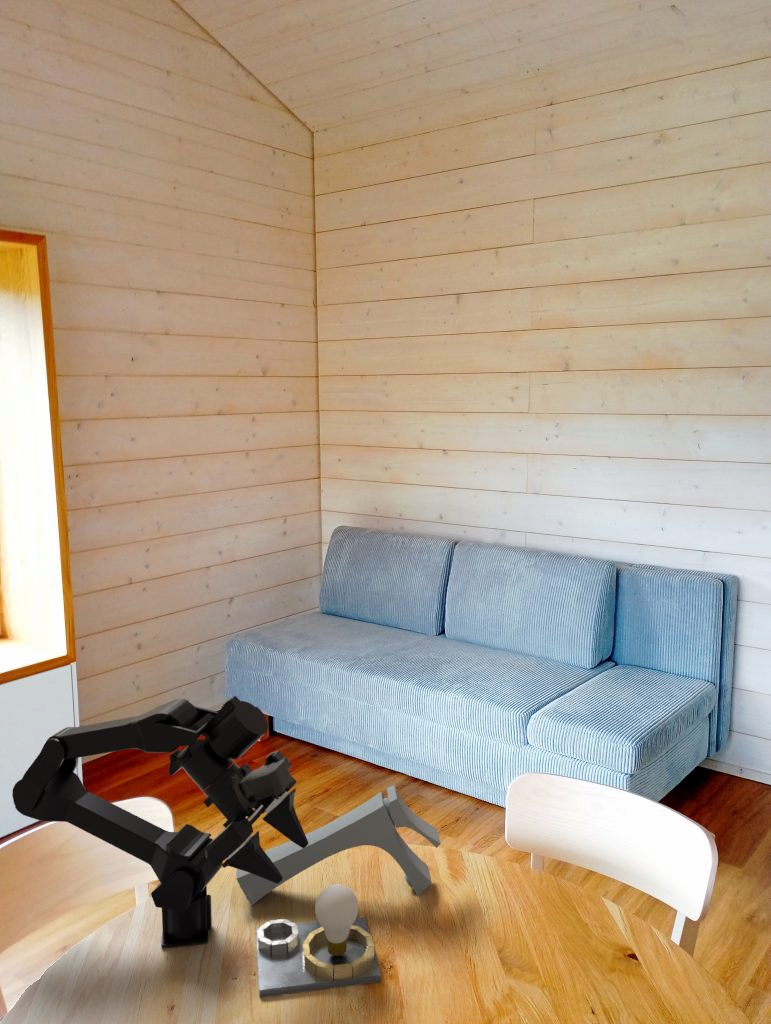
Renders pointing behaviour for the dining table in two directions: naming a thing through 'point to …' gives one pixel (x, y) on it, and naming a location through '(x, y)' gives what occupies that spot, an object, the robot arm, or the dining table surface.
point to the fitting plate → (302, 978)
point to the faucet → (351, 844)
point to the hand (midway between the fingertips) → (293, 863)
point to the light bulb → (336, 916)
